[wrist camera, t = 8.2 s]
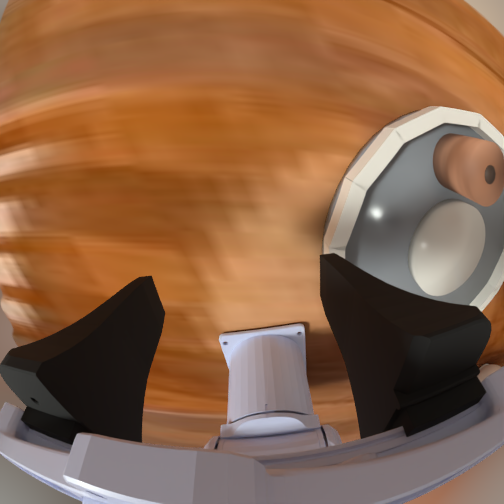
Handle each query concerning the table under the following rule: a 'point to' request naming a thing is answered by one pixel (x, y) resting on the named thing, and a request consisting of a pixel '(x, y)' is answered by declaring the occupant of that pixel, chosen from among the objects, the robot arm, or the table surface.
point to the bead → (470, 167)
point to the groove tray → (418, 213)
